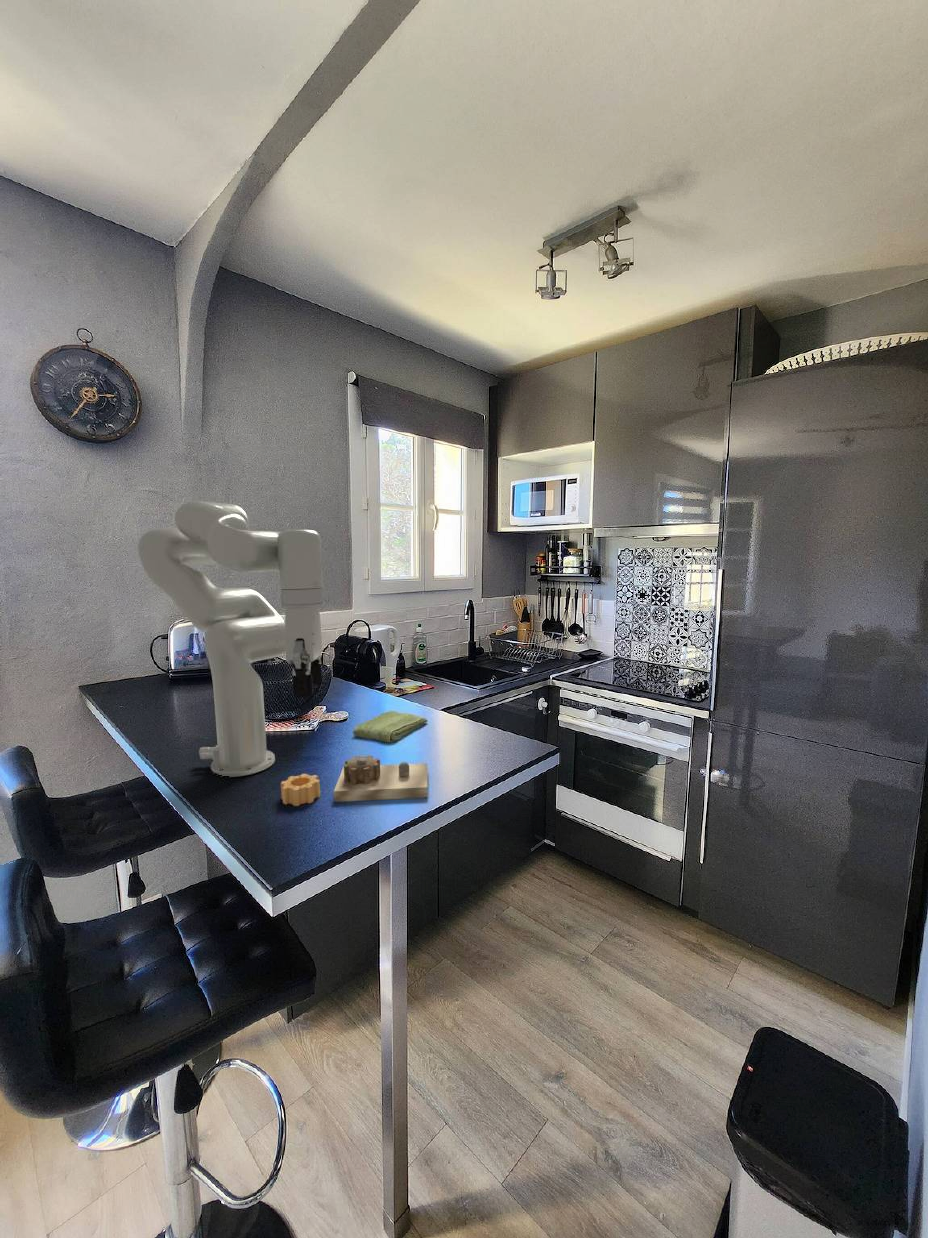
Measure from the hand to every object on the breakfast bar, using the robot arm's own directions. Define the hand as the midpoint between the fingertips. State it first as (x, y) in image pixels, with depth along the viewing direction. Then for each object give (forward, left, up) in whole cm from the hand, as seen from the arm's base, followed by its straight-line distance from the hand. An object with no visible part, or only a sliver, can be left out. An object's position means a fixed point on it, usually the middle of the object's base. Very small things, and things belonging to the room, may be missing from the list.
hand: (309, 690), depth 94 cm
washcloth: (+12, +34, -20) cm, 41 cm away
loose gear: (-2, -2, -20) cm, 20 cm away
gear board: (+13, +1, -20) cm, 24 cm away
